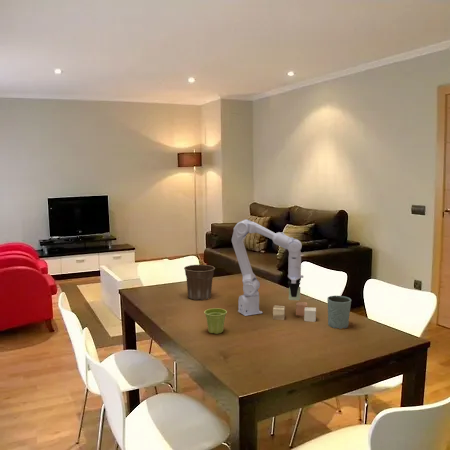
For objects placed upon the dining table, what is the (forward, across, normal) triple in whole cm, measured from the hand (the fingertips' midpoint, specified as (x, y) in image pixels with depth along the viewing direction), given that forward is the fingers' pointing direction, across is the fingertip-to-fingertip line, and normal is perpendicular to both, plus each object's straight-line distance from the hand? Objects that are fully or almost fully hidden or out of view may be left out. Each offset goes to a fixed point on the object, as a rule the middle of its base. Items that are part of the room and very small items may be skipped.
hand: (294, 295), depth 212 cm
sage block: (+2, 0, 0) cm, 2 cm away
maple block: (+10, -4, +7) cm, 13 cm away
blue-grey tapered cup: (+10, -10, -20) cm, 24 cm away
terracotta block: (+10, +4, -3) cm, 11 cm away
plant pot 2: (+10, -27, +31) cm, 42 cm away
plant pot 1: (+10, +22, +51) cm, 56 cm away
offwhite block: (+10, -4, -7) cm, 13 cm away
